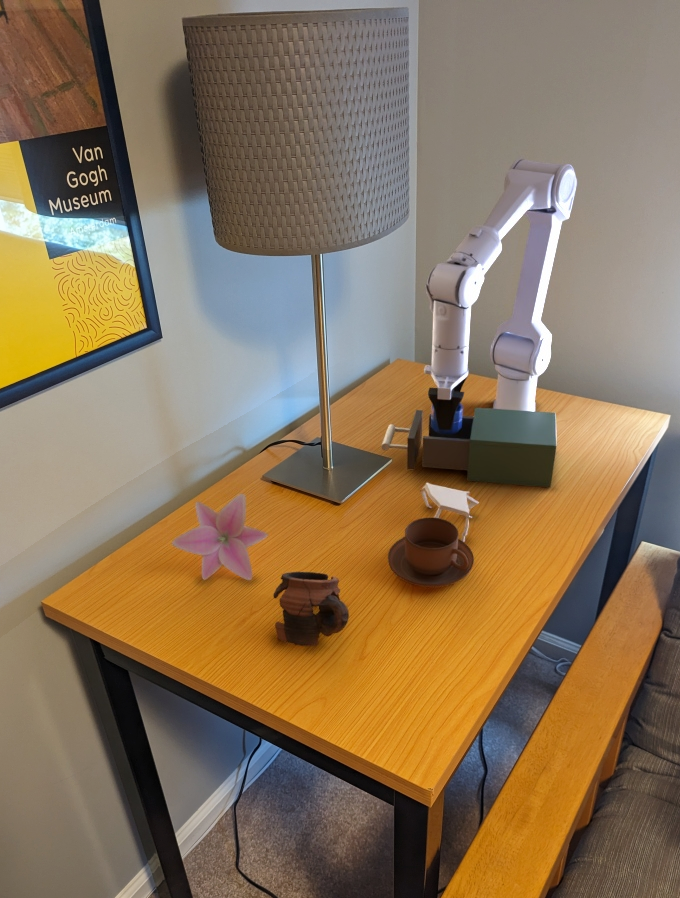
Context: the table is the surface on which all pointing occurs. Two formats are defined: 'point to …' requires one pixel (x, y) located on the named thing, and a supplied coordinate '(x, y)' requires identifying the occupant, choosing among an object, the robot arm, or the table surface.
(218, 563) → the lily
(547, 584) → the table surface
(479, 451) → the sage green box
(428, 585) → the cup and saucer
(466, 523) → the origami figure
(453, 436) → the drawer
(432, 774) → the table surface
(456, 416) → the blue cup
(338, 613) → the pottery mug
